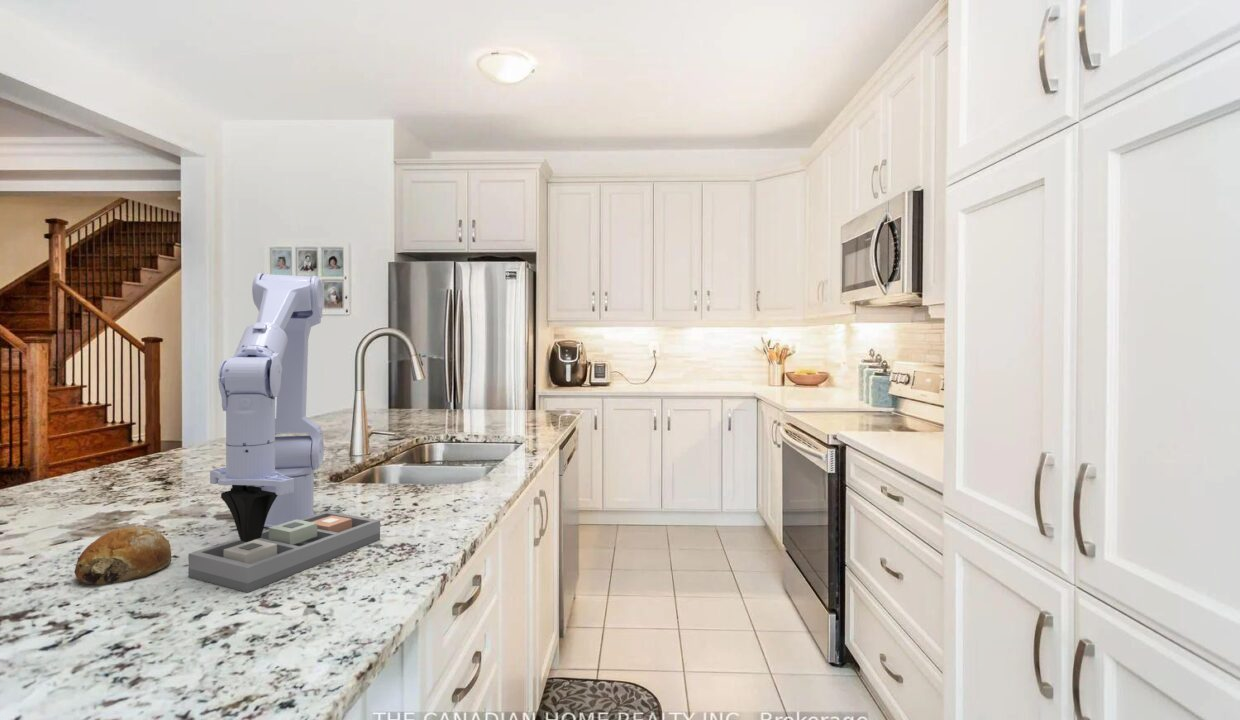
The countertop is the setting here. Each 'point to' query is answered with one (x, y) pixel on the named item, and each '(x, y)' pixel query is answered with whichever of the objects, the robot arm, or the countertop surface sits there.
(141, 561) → the bread roll
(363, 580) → the countertop surface
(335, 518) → the key terracotta
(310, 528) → the key sage
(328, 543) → the grey compartment tray
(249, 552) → the key offwhite
